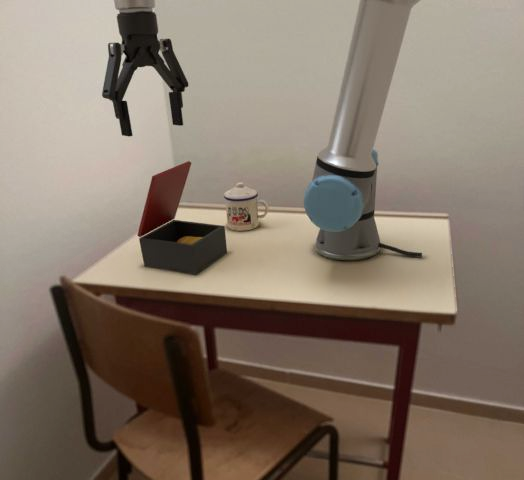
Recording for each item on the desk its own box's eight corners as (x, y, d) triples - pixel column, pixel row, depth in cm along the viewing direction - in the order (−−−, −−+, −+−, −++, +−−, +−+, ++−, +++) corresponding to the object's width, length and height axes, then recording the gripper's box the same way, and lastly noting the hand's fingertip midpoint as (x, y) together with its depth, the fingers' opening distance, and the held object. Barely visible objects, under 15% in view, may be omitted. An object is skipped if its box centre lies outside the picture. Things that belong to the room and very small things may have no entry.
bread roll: (192, 257, 117) (188, 240, 115) (169, 258, 123) (164, 241, 122) (219, 247, 122) (214, 230, 120) (195, 247, 128) (191, 231, 127)
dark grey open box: (227, 253, 126) (224, 225, 123) (196, 275, 116) (192, 246, 112) (177, 245, 132) (173, 219, 129) (144, 266, 122) (138, 238, 118)
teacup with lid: (222, 230, 140) (218, 187, 134) (232, 219, 147) (229, 178, 141) (264, 232, 137) (262, 188, 131) (273, 221, 144) (271, 179, 138)
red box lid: (191, 162, 118) (188, 160, 118) (155, 178, 108) (152, 176, 108) (174, 218, 128) (172, 217, 128) (139, 237, 118) (137, 235, 118)
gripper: (173, 10, 108) (186, 119, 120) (67, 14, 93) (93, 138, 105) (197, 8, 104) (208, 122, 115) (89, 12, 89) (114, 142, 100)
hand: (153, 130), depth 110 cm, fingers open, 13 cm apart
